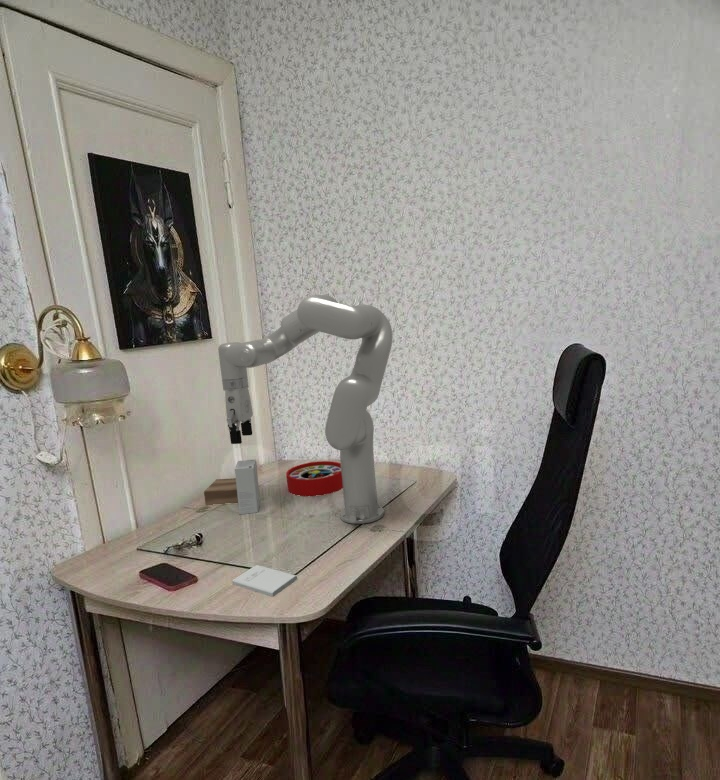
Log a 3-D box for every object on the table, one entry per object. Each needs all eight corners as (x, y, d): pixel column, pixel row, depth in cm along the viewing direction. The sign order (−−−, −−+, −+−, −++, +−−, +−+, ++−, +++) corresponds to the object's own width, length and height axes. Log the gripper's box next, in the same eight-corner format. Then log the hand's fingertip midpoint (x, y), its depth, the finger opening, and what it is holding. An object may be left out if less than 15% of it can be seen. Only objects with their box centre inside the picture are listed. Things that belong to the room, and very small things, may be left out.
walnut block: (242, 504, 174) (240, 489, 173) (205, 506, 175) (203, 491, 174) (252, 491, 185) (250, 477, 185) (218, 493, 186) (216, 479, 186)
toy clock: (296, 462, 195) (350, 460, 191) (297, 477, 196) (351, 476, 192) (278, 480, 176) (337, 479, 172) (280, 497, 176) (339, 496, 173)
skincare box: (242, 505, 172) (236, 460, 169) (261, 503, 172) (256, 458, 170) (239, 515, 163) (233, 468, 161) (259, 513, 164) (253, 466, 162)
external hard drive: (273, 599, 116) (232, 586, 123) (297, 581, 122) (258, 569, 129) (272, 592, 115) (231, 579, 122) (297, 574, 122) (257, 563, 129)
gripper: (237, 388, 153) (244, 446, 155) (256, 378, 169) (262, 431, 172) (212, 389, 154) (219, 447, 156) (233, 380, 170) (239, 432, 173)
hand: (242, 439), depth 164 cm, fingers open, 9 cm apart
